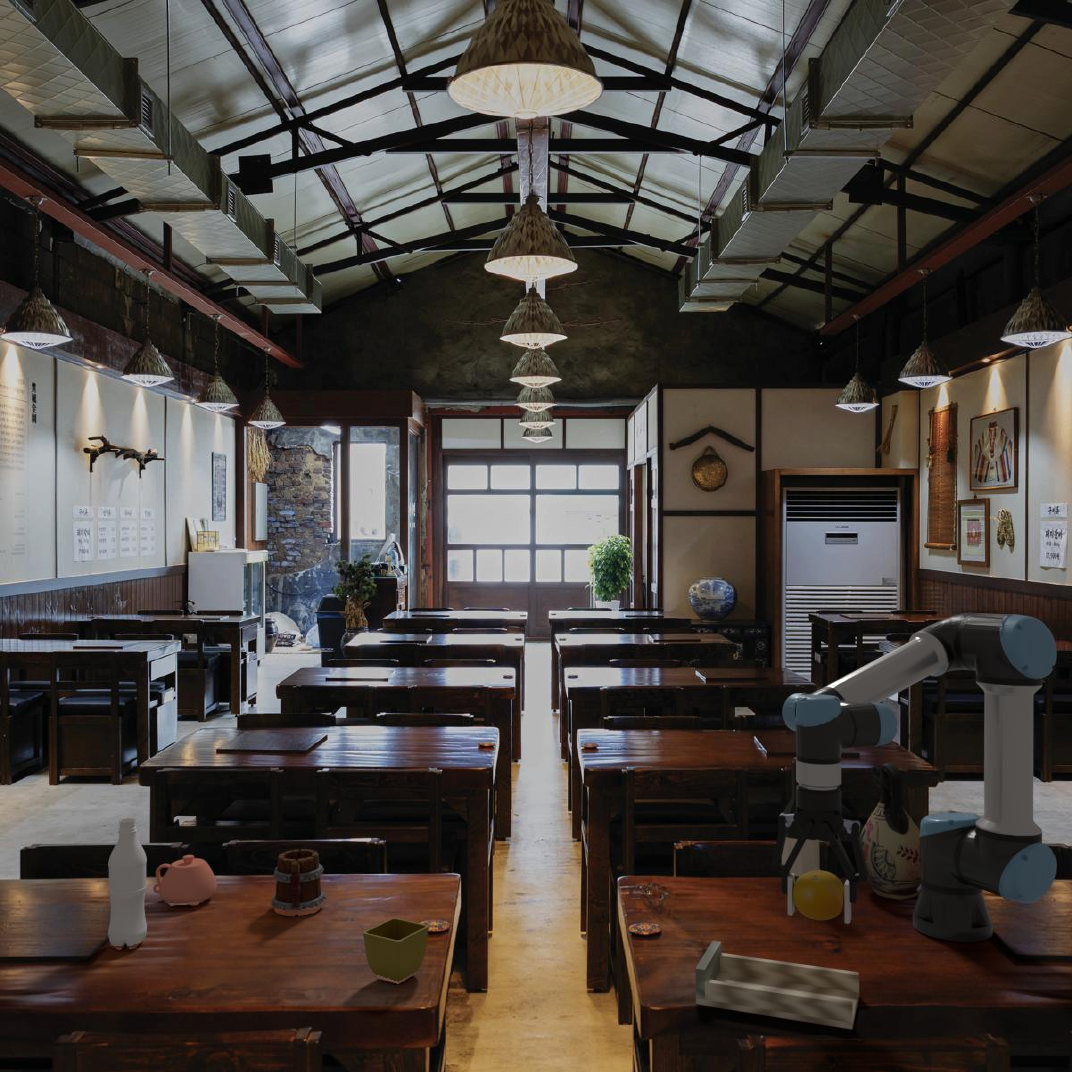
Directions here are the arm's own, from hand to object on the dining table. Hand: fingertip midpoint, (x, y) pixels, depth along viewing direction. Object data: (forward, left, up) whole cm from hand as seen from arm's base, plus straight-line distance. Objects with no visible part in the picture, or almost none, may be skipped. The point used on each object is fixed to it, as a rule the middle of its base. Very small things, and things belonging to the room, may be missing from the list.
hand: (819, 916), depth 173 cm
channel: (+6, +3, -14) cm, 16 cm away
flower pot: (+73, +19, -14) cm, 77 cm away
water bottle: (+131, +25, -14) cm, 134 cm away
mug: (+111, -4, -14) cm, 112 cm away
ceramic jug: (-9, -61, -14) cm, 63 cm away
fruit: (0, 0, -1) cm, 1 cm away
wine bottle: (+11, -57, -14) cm, 60 cm away
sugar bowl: (+139, 0, -14) cm, 140 cm away
